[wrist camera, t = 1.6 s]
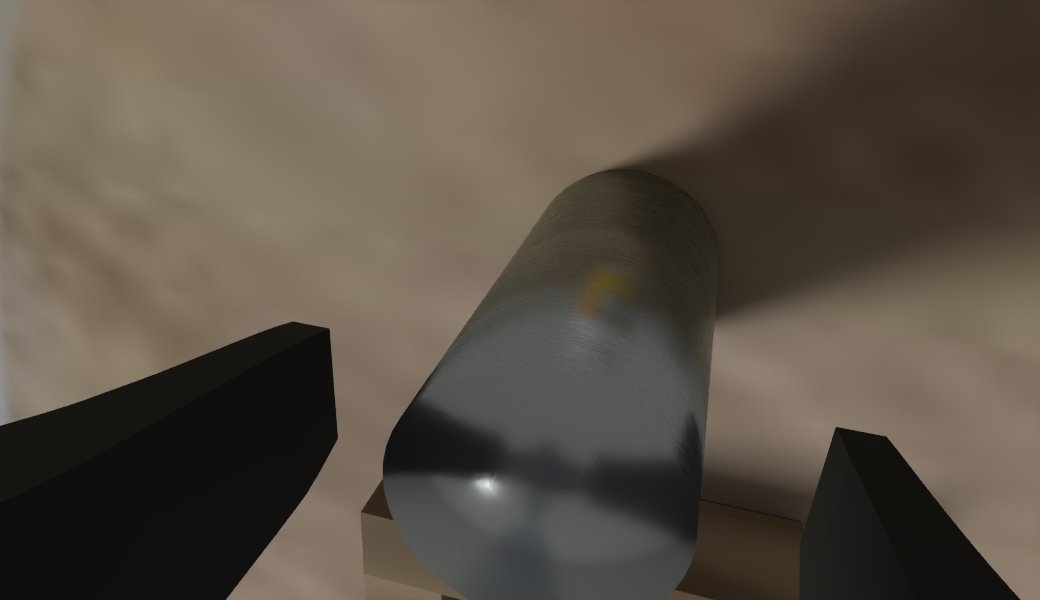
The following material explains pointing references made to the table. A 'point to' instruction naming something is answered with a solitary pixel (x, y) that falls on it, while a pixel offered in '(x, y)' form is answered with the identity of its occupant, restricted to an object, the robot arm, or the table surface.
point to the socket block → (699, 596)
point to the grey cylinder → (570, 407)
